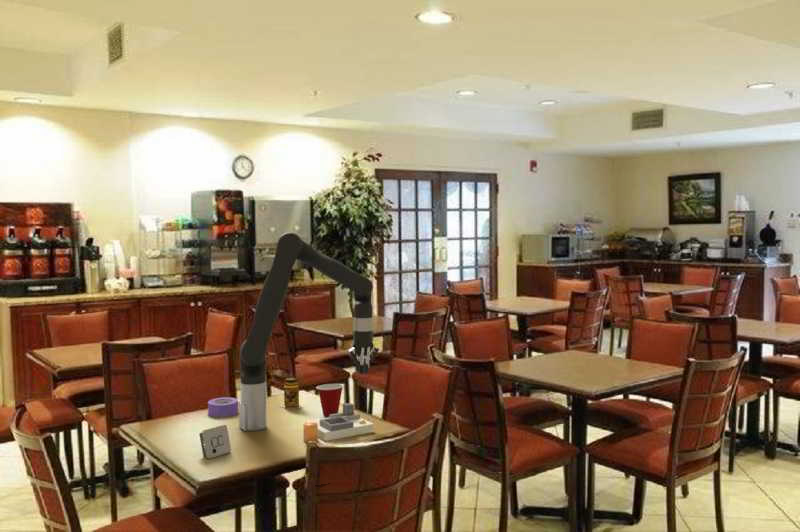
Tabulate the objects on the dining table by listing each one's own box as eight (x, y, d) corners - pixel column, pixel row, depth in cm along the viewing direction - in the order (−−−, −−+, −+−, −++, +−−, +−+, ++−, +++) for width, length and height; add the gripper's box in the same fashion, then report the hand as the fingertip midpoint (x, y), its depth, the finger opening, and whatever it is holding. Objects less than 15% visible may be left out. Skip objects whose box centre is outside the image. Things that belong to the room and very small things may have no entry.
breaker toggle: (346, 418, 256) (346, 405, 256) (342, 416, 258) (342, 403, 258) (353, 417, 257) (353, 404, 257) (349, 415, 260) (349, 402, 260)
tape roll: (228, 418, 268) (228, 405, 268) (202, 415, 272) (202, 403, 271) (243, 410, 280) (243, 398, 279) (218, 408, 283) (218, 396, 283)
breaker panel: (324, 441, 239) (324, 427, 239) (305, 429, 253) (305, 416, 252) (373, 431, 250) (373, 418, 250) (352, 421, 264) (352, 408, 263)
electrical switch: (208, 460, 220) (206, 431, 220) (198, 458, 223) (196, 429, 223) (231, 452, 227) (230, 424, 227) (222, 450, 230) (220, 423, 230)
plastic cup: (329, 409, 280) (329, 381, 280) (349, 414, 274) (349, 384, 273) (310, 415, 272) (310, 385, 271) (331, 420, 265) (330, 389, 265)
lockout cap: (307, 444, 236) (307, 427, 236) (301, 440, 240) (301, 423, 240) (320, 441, 239) (320, 424, 239) (314, 437, 243) (313, 421, 243)
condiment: (287, 410, 280) (287, 381, 279) (278, 405, 287) (278, 377, 286) (303, 407, 284) (303, 379, 283) (294, 403, 291) (294, 375, 290)
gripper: (373, 326, 266) (373, 370, 267) (342, 329, 259) (342, 374, 260) (383, 328, 260) (383, 373, 261) (352, 331, 253) (352, 378, 254)
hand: (363, 373), depth 260 cm, fingers closed
